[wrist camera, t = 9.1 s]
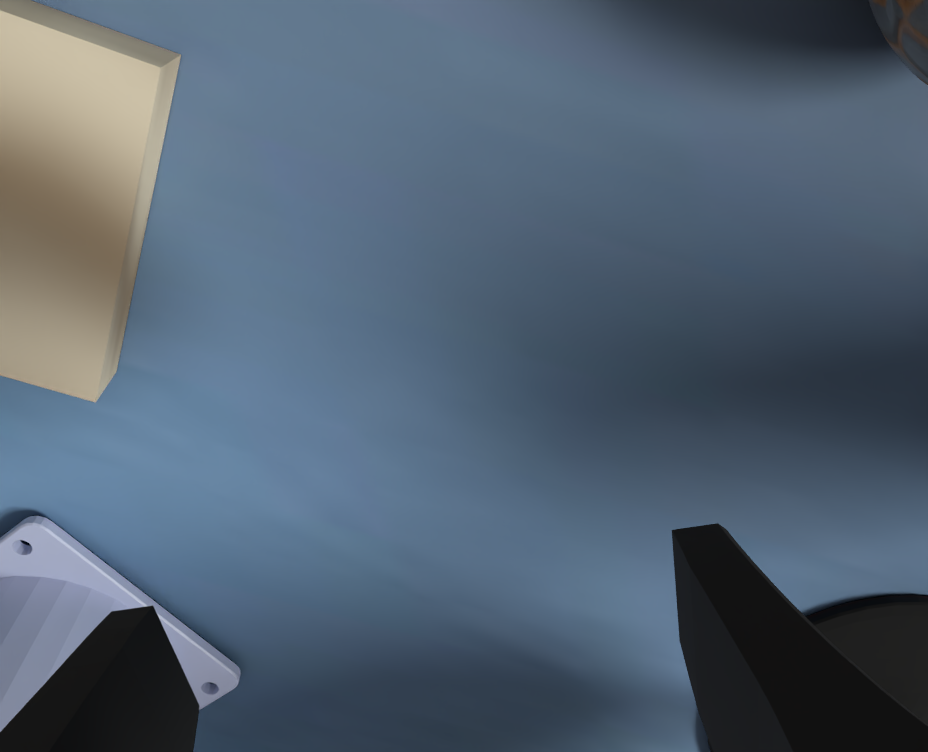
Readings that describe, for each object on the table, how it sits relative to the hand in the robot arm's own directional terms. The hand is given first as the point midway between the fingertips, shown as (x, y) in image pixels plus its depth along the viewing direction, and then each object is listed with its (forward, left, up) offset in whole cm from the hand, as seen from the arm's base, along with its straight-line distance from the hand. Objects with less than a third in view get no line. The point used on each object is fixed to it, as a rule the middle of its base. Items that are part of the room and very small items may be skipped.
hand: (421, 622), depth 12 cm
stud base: (-6, +9, -10) cm, 15 cm away
